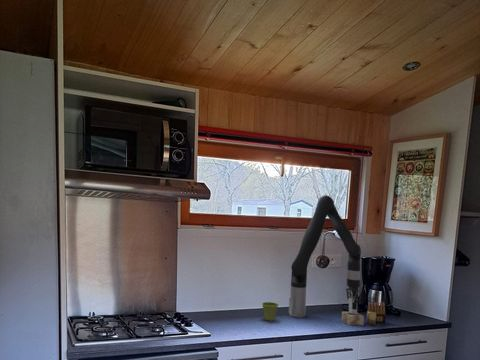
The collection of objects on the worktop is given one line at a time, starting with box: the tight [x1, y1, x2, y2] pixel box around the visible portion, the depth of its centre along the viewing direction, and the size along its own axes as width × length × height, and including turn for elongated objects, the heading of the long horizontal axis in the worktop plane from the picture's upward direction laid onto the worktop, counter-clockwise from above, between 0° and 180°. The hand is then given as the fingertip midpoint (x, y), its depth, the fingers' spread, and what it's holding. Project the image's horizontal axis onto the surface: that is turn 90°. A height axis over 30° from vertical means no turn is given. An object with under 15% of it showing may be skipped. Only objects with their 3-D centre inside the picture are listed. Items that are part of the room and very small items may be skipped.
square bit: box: [348, 297, 358, 315], centre depth 217 cm, size 3×3×12 cm
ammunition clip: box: [367, 301, 387, 324], centre depth 220 cm, size 11×2×12 cm, turn 95°
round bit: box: [366, 310, 377, 327], centre depth 215 cm, size 5×5×7 cm
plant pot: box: [261, 301, 279, 322], centre depth 215 cm, size 9×9×9 cm
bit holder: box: [341, 311, 365, 326], centre depth 217 cm, size 9×9×5 cm
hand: (352, 308), depth 217 cm, fingers closed on square bit, 3 cm apart
